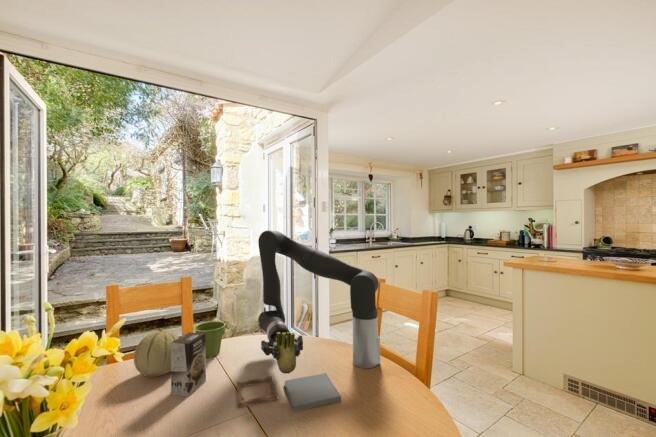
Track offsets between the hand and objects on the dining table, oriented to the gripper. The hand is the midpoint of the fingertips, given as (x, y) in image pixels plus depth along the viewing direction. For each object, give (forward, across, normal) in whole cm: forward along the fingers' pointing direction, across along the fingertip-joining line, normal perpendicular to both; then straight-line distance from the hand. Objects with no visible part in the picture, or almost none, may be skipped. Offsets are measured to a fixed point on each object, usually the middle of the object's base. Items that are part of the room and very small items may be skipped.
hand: (287, 354), depth 90 cm
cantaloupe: (-29, -40, +13) cm, 51 cm away
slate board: (0, +7, +13) cm, 15 cm away
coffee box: (-16, -29, +13) cm, 35 cm away
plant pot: (-40, -24, +13) cm, 48 cm away
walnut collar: (-6, -9, +13) cm, 16 cm away
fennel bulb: (-3, 0, +6) cm, 7 cm away
